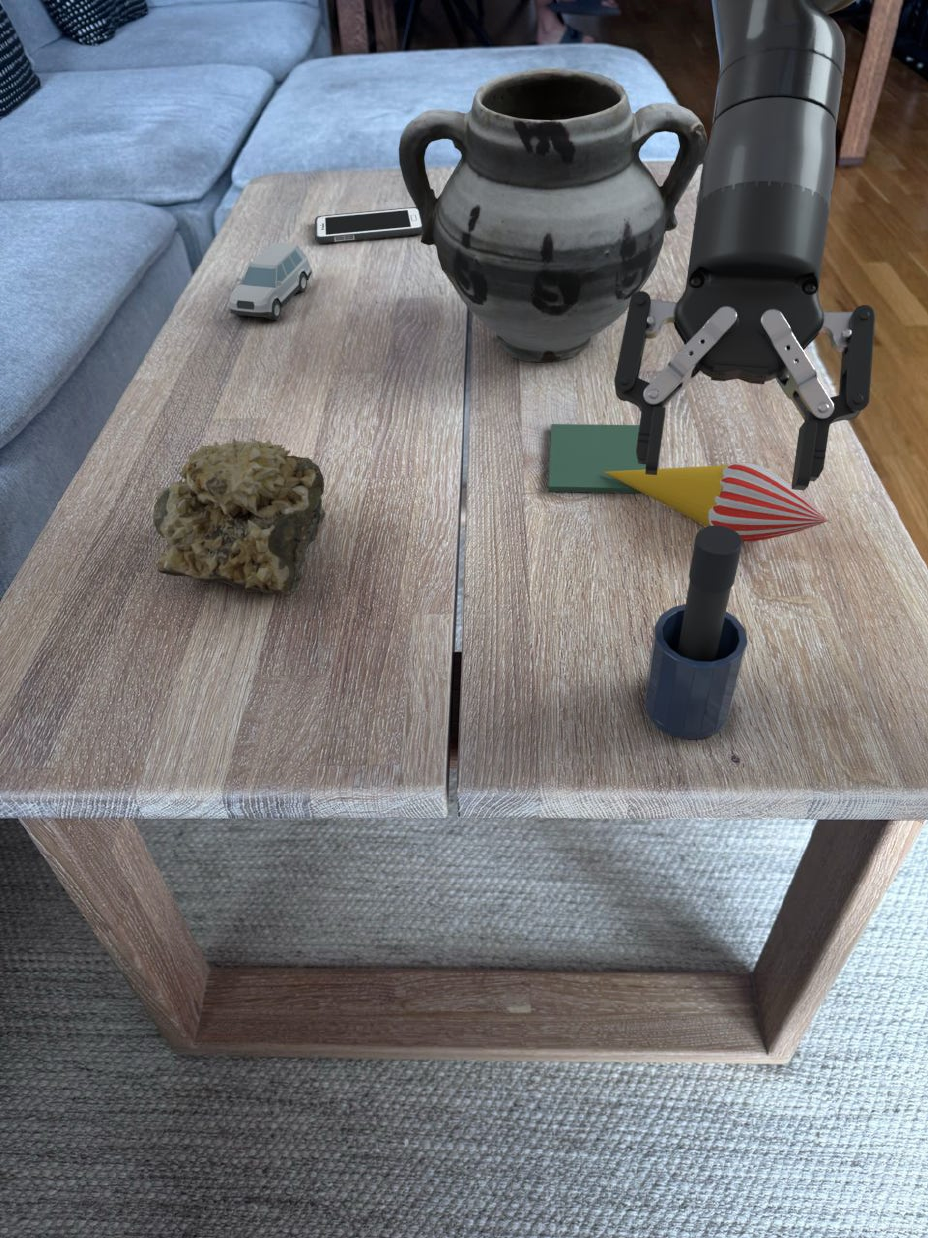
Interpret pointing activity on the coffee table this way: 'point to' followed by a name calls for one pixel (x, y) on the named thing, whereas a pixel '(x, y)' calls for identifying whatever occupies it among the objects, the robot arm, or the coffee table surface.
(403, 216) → the cell phone
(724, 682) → the pen cup
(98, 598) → the coffee table surface
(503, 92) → the ceramic pot
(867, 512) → the coffee table surface
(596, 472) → the felt pad
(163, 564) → the mineral specimen
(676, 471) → the ice cream cone
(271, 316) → the toy car
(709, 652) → the cylinder
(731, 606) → the coffee table surface
